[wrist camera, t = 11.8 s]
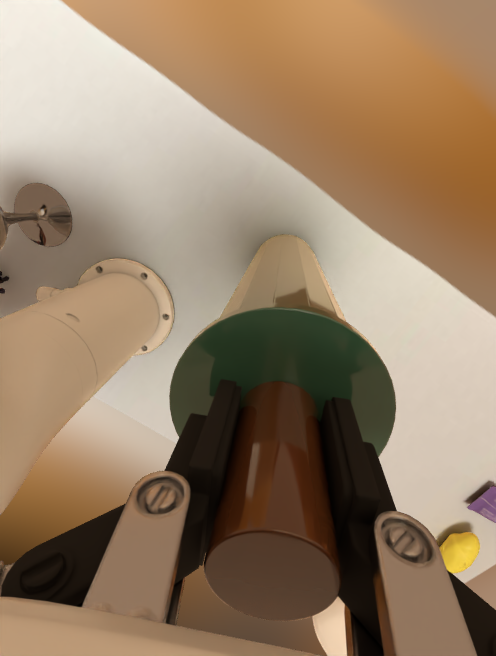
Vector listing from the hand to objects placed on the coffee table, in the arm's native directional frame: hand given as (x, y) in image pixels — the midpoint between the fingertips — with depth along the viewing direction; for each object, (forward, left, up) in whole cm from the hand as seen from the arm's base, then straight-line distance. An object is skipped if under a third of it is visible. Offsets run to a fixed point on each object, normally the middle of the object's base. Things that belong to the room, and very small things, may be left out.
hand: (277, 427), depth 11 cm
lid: (0, 0, -1) cm, 1 cm away
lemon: (+31, -38, -29) cm, 57 cm away
